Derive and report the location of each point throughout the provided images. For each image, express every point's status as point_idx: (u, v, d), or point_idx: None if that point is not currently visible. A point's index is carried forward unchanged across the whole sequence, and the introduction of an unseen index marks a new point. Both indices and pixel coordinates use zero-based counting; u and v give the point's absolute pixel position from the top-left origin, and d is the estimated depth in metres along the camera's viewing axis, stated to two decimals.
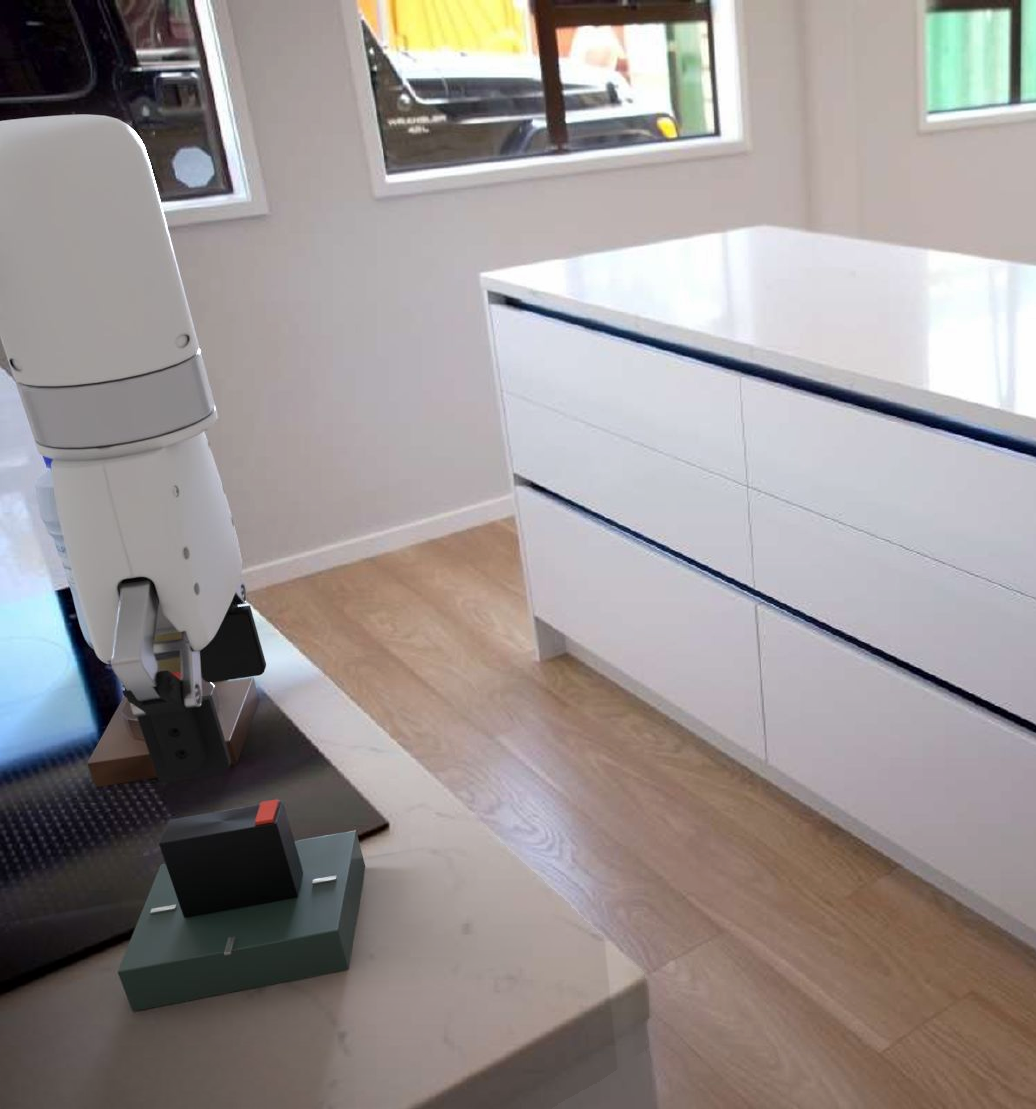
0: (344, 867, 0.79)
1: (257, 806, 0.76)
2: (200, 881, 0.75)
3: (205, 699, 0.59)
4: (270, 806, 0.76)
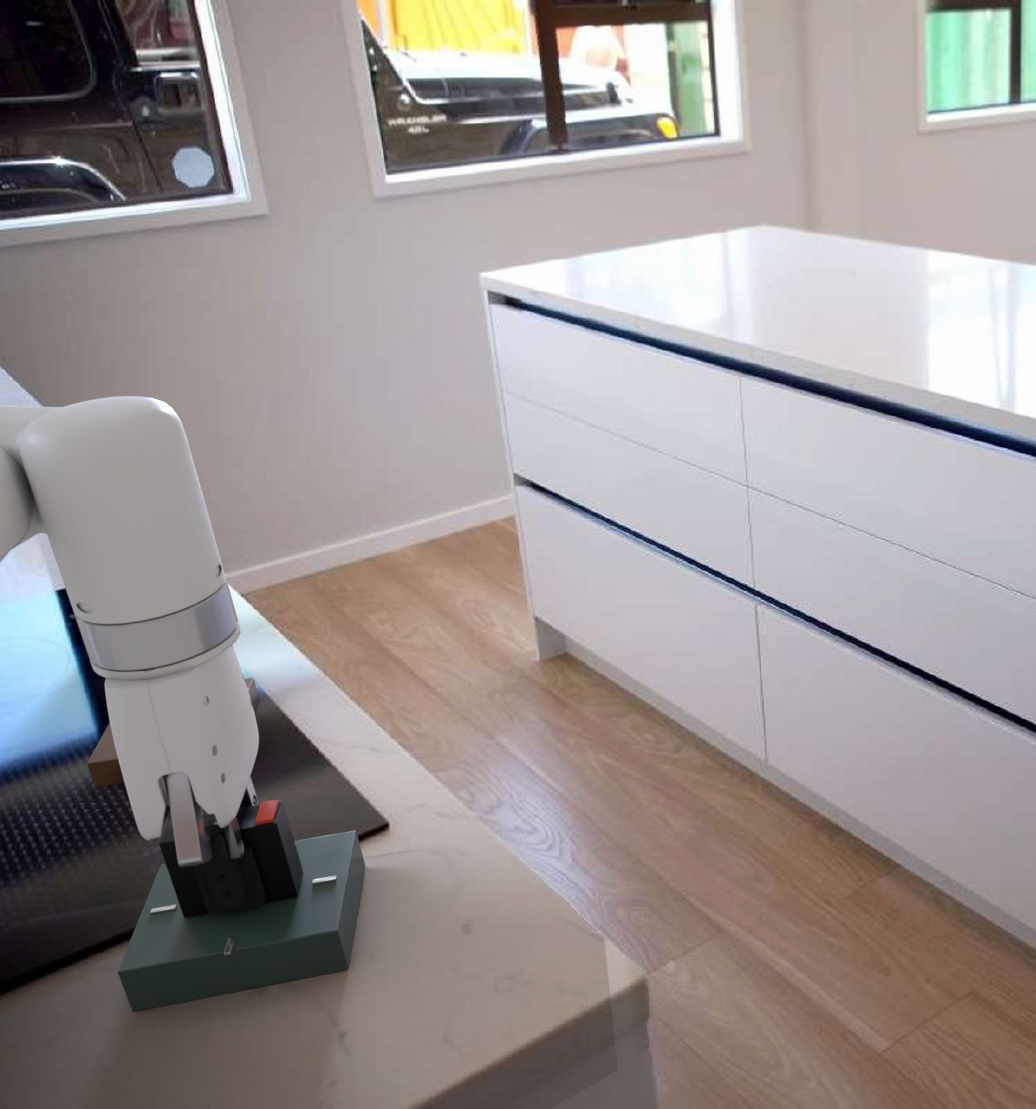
0: (344, 867, 0.79)
1: (257, 806, 0.76)
2: None
3: (246, 850, 0.74)
4: (270, 806, 0.76)
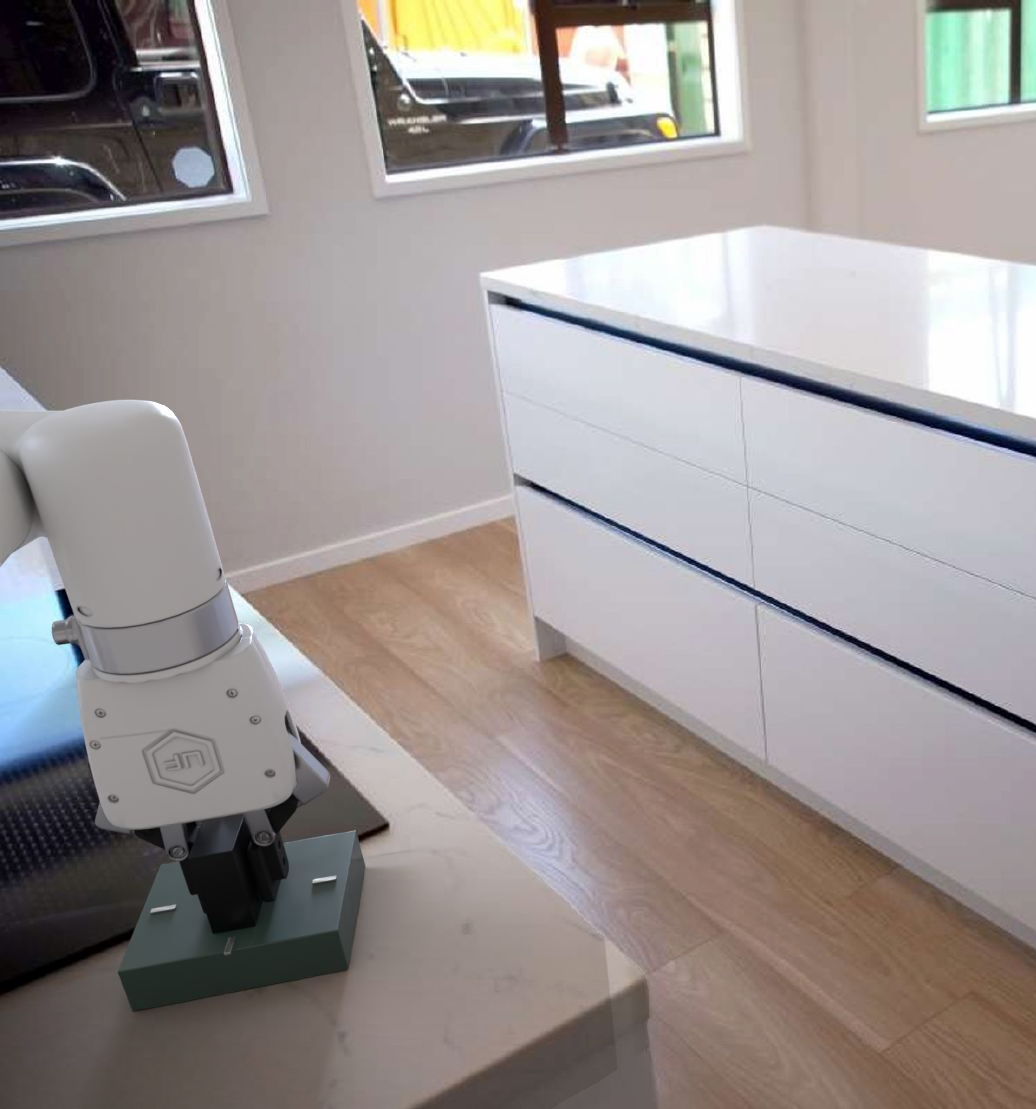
0: (344, 867, 0.79)
1: None
2: (250, 877, 0.75)
3: None
4: None
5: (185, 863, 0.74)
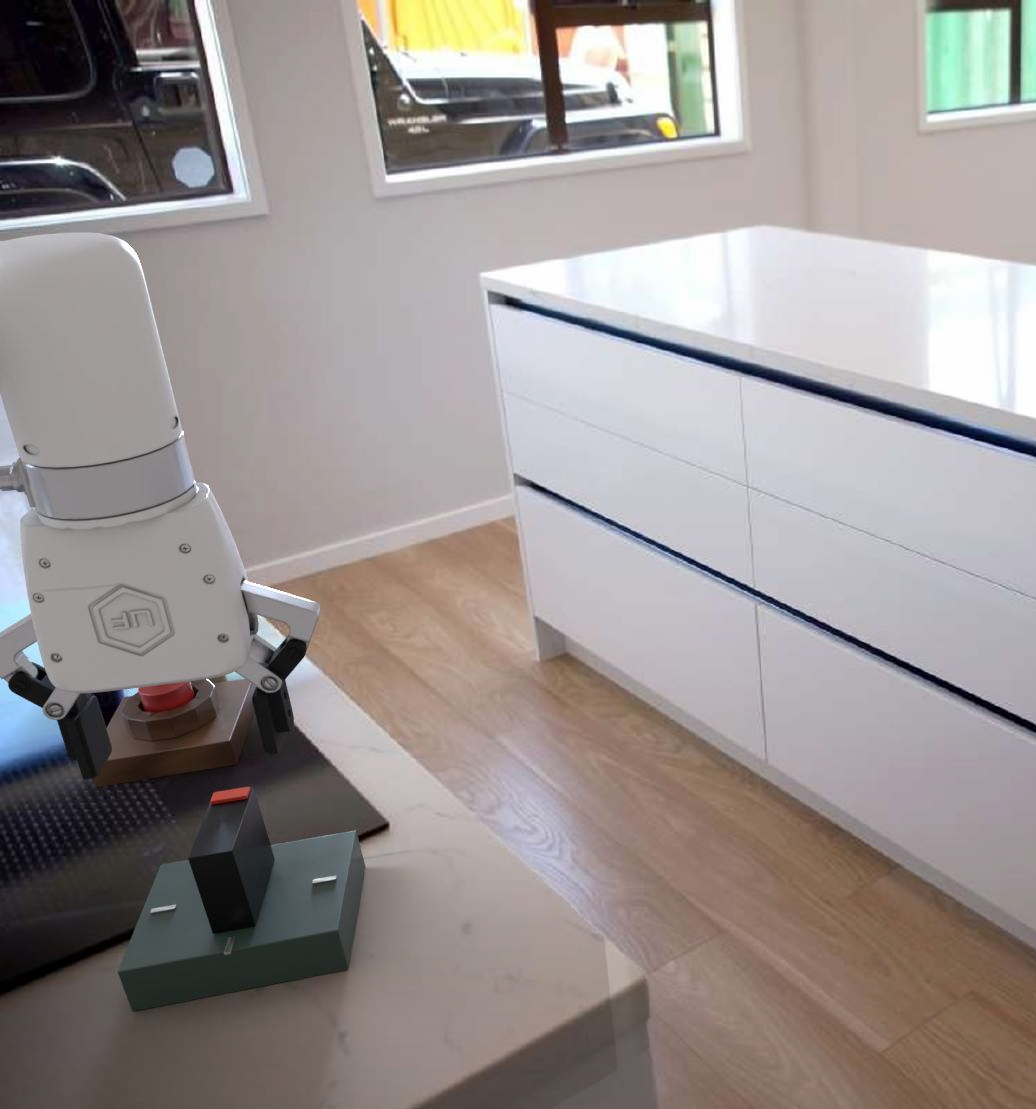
0: (344, 867, 0.79)
1: (212, 806, 0.76)
2: (250, 877, 0.75)
3: None
4: (224, 793, 0.77)
5: (64, 724, 0.70)
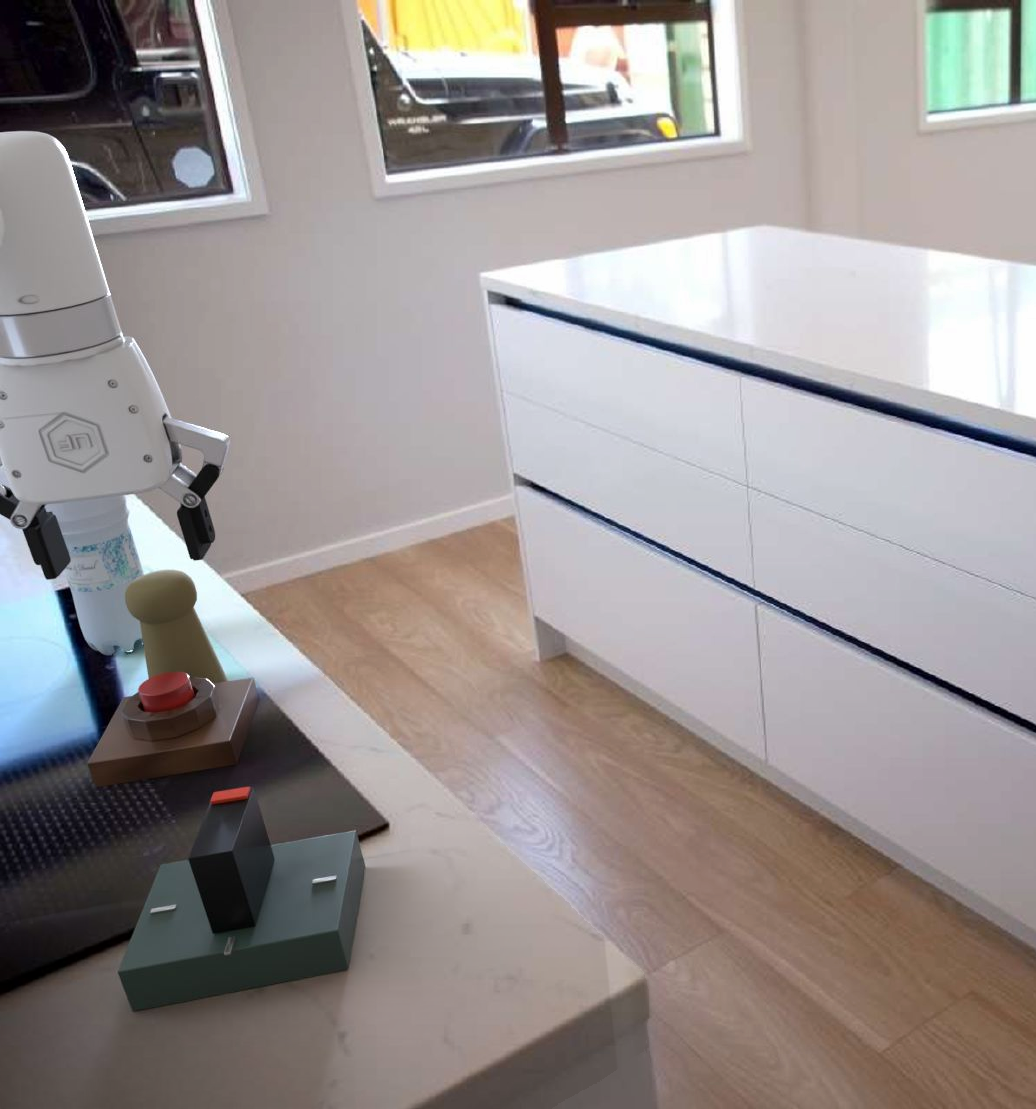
0: (344, 867, 0.79)
1: (212, 806, 0.76)
2: (250, 877, 0.75)
3: None
4: (224, 793, 0.77)
5: (28, 533, 0.88)
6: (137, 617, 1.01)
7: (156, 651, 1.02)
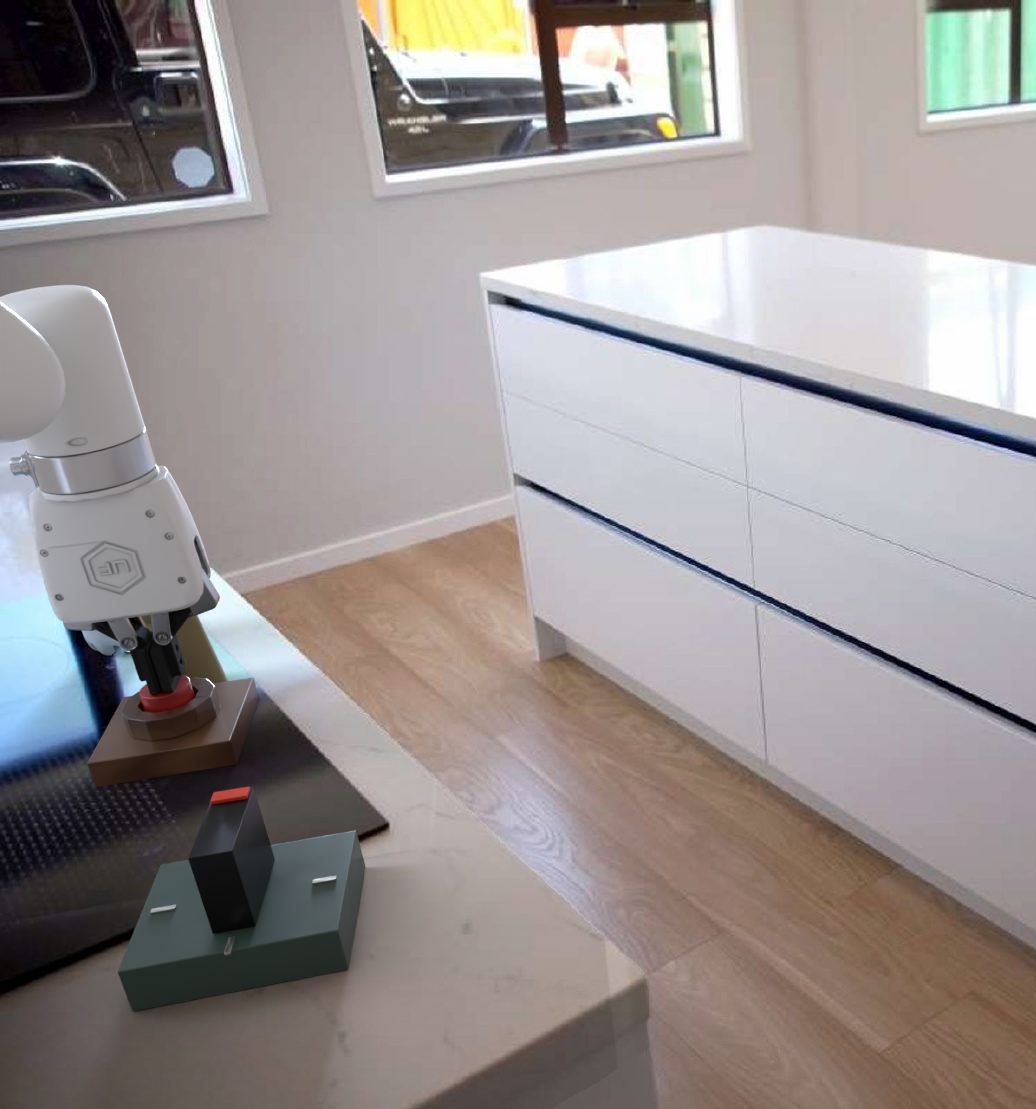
0: (344, 867, 0.79)
1: (212, 806, 0.76)
2: (250, 877, 0.75)
3: None
4: (224, 793, 0.77)
5: (135, 654, 0.95)
6: None
7: None
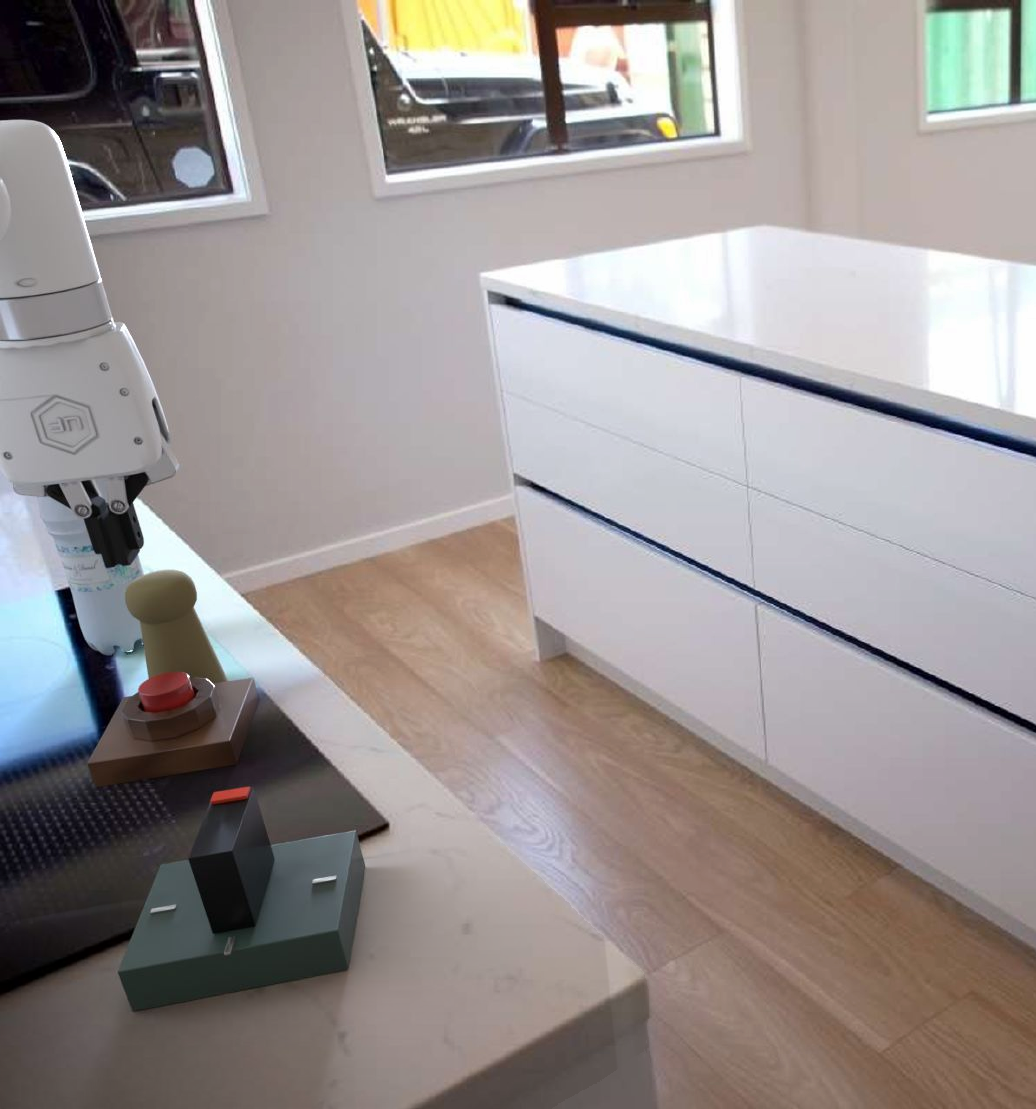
0: (344, 867, 0.79)
1: (212, 806, 0.76)
2: (250, 877, 0.75)
3: None
4: (224, 793, 0.77)
5: (89, 523, 0.91)
6: (137, 617, 1.01)
7: (156, 651, 1.02)
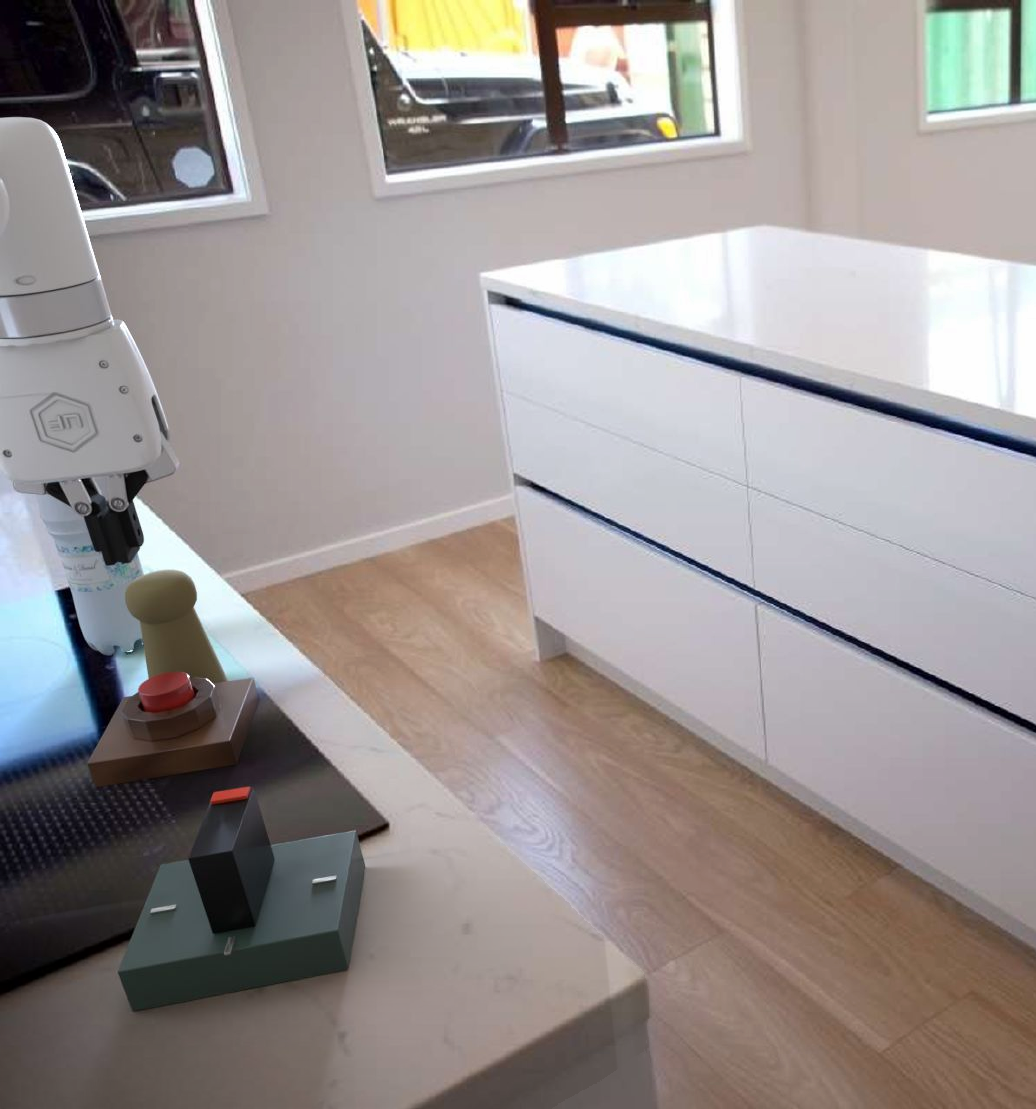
0: (344, 867, 0.79)
1: (212, 806, 0.76)
2: (250, 877, 0.75)
3: None
4: (224, 793, 0.77)
5: (89, 521, 0.91)
6: (137, 617, 1.01)
7: (156, 651, 1.02)
